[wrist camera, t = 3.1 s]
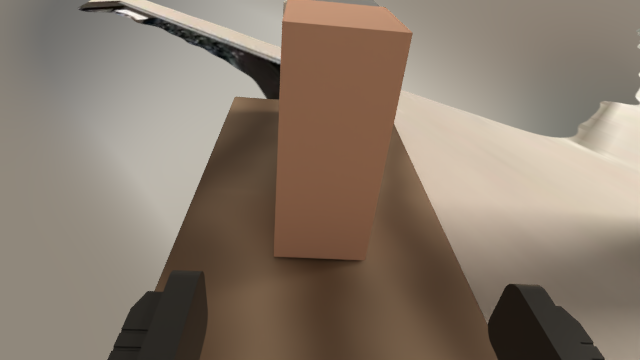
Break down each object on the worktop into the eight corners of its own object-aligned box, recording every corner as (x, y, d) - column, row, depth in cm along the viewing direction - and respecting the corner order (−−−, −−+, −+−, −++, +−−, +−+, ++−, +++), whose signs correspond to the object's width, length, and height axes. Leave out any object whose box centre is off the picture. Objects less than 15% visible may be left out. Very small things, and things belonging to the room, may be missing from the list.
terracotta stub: (353, 197, 26) (385, 7, 20) (364, 260, 21) (412, 32, 15) (279, 193, 26) (287, -3, 20) (273, 256, 21) (282, 21, 15)
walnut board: (383, 120, 42) (386, 107, 42) (523, 451, 15) (537, 432, 15) (235, 110, 41) (235, 96, 40) (106, 449, 14) (97, 429, 13)
